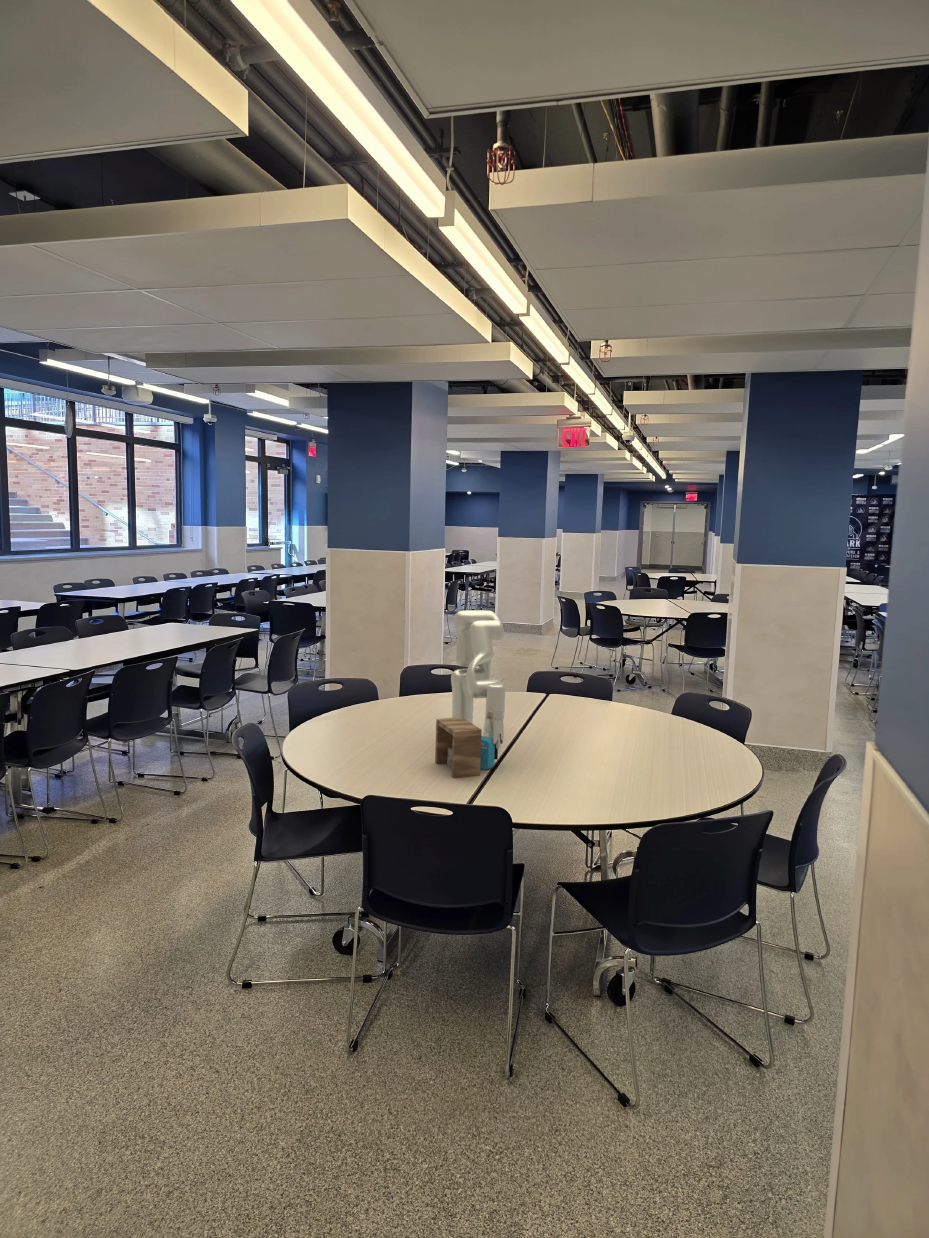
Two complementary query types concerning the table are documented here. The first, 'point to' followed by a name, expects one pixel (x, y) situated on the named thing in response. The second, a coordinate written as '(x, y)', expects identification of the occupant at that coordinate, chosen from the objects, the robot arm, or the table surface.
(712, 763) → the table surface
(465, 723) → the overhang shelf
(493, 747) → the data package
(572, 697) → the table surface
